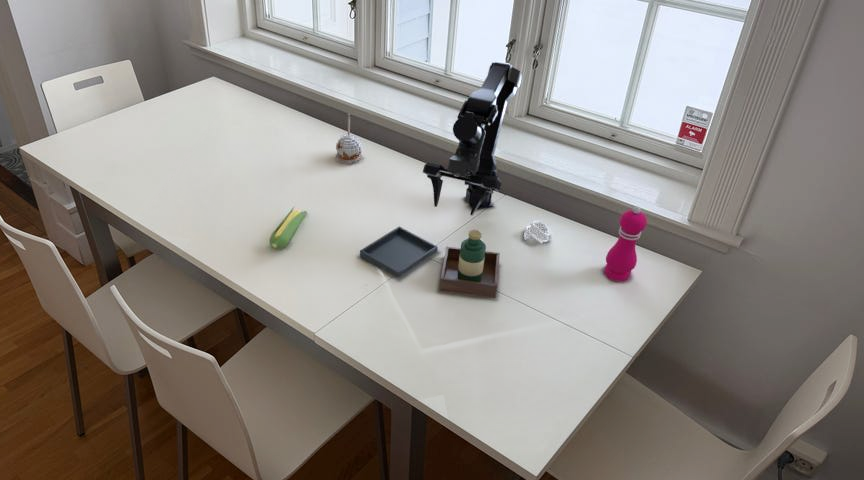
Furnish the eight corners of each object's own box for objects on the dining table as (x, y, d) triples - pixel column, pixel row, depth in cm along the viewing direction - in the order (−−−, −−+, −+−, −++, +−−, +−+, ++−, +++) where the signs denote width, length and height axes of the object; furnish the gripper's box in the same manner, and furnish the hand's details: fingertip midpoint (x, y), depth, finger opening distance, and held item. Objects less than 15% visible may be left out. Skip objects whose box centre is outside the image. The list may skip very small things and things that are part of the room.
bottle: (475, 267, 166) (481, 224, 158) (485, 281, 162) (492, 238, 154) (453, 271, 165) (458, 228, 157) (462, 286, 160) (468, 242, 152)
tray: (398, 232, 178) (399, 226, 177) (437, 253, 172) (437, 246, 170) (359, 257, 169) (359, 250, 168) (398, 279, 163) (399, 272, 161)
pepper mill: (598, 265, 169) (617, 198, 157) (625, 264, 170) (646, 198, 158) (607, 283, 164) (628, 215, 151) (636, 282, 164) (659, 215, 152)
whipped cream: (524, 230, 183) (525, 214, 180) (549, 231, 181) (550, 216, 179) (523, 245, 176) (524, 229, 173) (549, 246, 175) (550, 230, 172)
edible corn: (265, 251, 170) (264, 237, 167) (295, 211, 185) (294, 197, 183) (284, 255, 169) (283, 240, 166) (312, 214, 184) (311, 200, 182)
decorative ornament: (339, 151, 213) (338, 108, 204) (363, 153, 213) (363, 110, 203) (334, 163, 207) (333, 118, 198) (359, 165, 206) (359, 121, 197)
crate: (444, 259, 170) (446, 246, 167) (497, 265, 168) (499, 252, 166) (439, 292, 159) (440, 278, 157) (495, 299, 158) (497, 286, 155)
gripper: (425, 134, 157) (409, 199, 158) (502, 150, 151) (485, 217, 152) (436, 143, 167) (420, 203, 168) (508, 158, 162) (491, 221, 163)
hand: (453, 211), depth 163 cm, fingers open, 9 cm apart
